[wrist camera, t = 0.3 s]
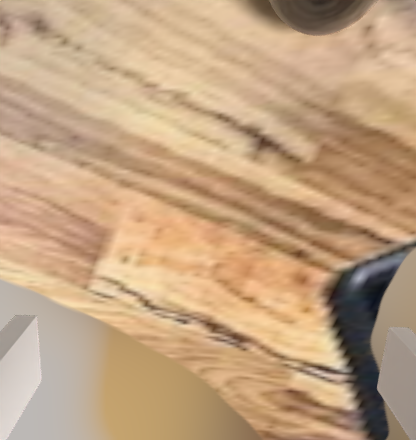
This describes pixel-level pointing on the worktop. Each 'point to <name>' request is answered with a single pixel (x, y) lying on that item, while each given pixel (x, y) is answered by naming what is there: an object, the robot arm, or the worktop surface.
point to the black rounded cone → (321, 14)
